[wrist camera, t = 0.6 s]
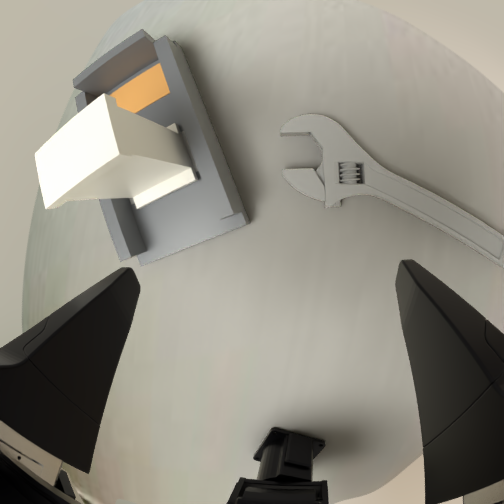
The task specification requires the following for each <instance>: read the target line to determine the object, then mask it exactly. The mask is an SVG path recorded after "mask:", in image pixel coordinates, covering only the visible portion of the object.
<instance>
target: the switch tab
mask: <svg viewBox="0 0 504 504" xmlns="http://www.w3.org/2000/svg"><path fill="white" fill-rule="evenodd" d="M35 159H36V165H37V171H38V176H39V181H40V186H41V191H42V195H43V200H44V204H45V208H46V209H51V208H58V207H60V206H61V205H62V204H63V203H65V202H66V201H75V200H92V199H112V198H133V199H134V202H135V205H136V208H137V209H141V208H143V207H145V206H146V205H148V204H150V203H152V202H154V201H156V200H158V199H160V198H162V197H164V196H166V195H168V194H170V193H172V192H174V191H177V190H179V189H181V188H183V187H185V186H187V185H189V184H191V183H193V182H196V181H198V178H197V176H196V173H195V170H194V168H193V165H192V162H191V159H190V157H189V154H188V151H187V148H186V146H185V143H184V140H183V137H182V135H181V132H180V129H179V126H178V124H176V123H173V124H172V125H170V126H168V127H164V126H161V125H159V124H157V123H155V122H153V121H150V120H148V119H146V118H144V117H142V116H139V115H137V114H135V113H132V112H130V111H128V110H125V109H123V108H121V107H118V106H117V103H116V99H115V98H114V97H112V96H109V95H107V94H105V93H103V94H102V95H101V96H99V97H98V98H97V99H96V100H94V101H93V102H92V103H90V104H89V105H88V106H87V107H85V108H84V109H83V110H82V111H81V112H79V113H78V114H77V115H76V116H75V117H73V118H72V119H71V120H70V121H69V122H68V123H66V124H65V125H64V126H63V127H62V128H61V129H60V130H59V131H58V132H57V133H55V134H54V135H53V136H52V137H51V138H50V139H49V140H48V141H47V142H46V143H45V144H44V145H43V146H42V147H41V148H40V149H39V150H38V151H37V152H36V153H35Z"/></svg>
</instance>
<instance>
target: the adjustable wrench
mask: <svg viewBox="0 0 504 504" xmlns="http://www.w3.org/2000/svg"><path fill="white" fill-rule="evenodd" d="M280 134H281V136H302V135H311V137H312V138H313V139H314V141H315V142H316V144H317V145H318V146H319V148H320V149H321V151H322V162H321V164H320V166H319V167H318V169H317V170H316V171H314V169H313V168H301V169H282V176H283V177H284V178H285V180H286V181H287V182H288V183H289V184H290V185H291V186H292V187H293V188H294V189H296V190H297V191H298V192H300V193H302V194H303V195H305V196H308V197H310V198H313V199H316V200H319V201H323V202H324V208H329V207H341V203H340V201H341V199H343V198H347V197H351V196H356V195H370V196H374V197H377V198H380V199H382V200H384V201H386V202H388V203H390V204H392V205H394V206H396V207H398V208H400V209H402V210H404V211H406V212H408V213H410V214H412V215H414V216H416V217H418V218H420V219H421V220H423V221H425V222H427V223H429V224H431V225H433V226H434V227H436V228H438V229H440V230H442V231H443V232H445V233H447V234H449V235H450V236H452V237H454V238H455V239H457V240H459V241H460V242H462V243H464V244H465V245H467V246H469V247H470V248H472V249H474V250H475V251H477V252H478V253H480V254H482V255H483V256H485V257H486V258H488V259H489V260H491V261H492V262H494V263H495V264H497V265H498V266H500V267H502V268H504V236H503V235H502V234H500V233H499V232H497V231H496V230H494V229H493V228H491V227H490V226H488V225H487V224H485V223H484V222H482V221H480V220H479V219H477V218H476V217H474V216H472V215H471V214H469V213H467V212H466V211H464V210H462V209H461V208H459V207H457V206H456V205H454V204H452V203H450V202H449V201H447V200H445V199H443V198H441V197H439V196H438V195H436V194H434V193H432V192H430V191H428V190H426V189H424V188H422V187H420V186H419V185H417V184H415V183H413V182H410V181H408V180H406V179H404V178H402V177H400V176H398V175H396V174H394V173H392V172H390V171H388V170H387V169H385V168H383V167H382V166H381V165H380V164H378V163H377V162H376V161H375V160H374V159H373V158H372V157H371V156H370V155H369V154H368V153H366V152H365V151H364V150H363V149H362V148H361V147H360V146H359V145H358V144H357V143H356V142H355V141H354V139H353V138H352V137H351V136H350V135H349V134H348V133H347V132H346V131H345V130H344V129H343V128H342V126H341V125H340V124H338V123H337V122H336V121H334V120H332V119H331V118H328V117H326V116H323V115H318V114H305V115H300V116H298V117H295V118H292V119H290V120H289V121H288V122H286V123H285V124H284V125H283V126H282V127H281V130H280ZM356 165H361V174H362V184H357V180H361V179H360V178H357V175H360V173H357V170H360V168H357V167H356ZM340 168H342V169H340ZM340 173H342V174H341V175H340ZM340 178H342V180H340Z"/></svg>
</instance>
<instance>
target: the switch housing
mask: <svg viewBox="0 0 504 504" xmlns="http://www.w3.org/2000/svg"><path fill="white" fill-rule="evenodd" d="M73 85H74V88H76V89H79V90H81V91H82V92H81V93H80V94H79V95H78V96H76V97H75V99H76V105H77V111H78V113H79V112H81V111H82V110H83V109H84V108H85V107H87V106H88V105H89V104H90V103H92V102H93V101H94V100H96V99H97V98H98V97H99V96H101V95H102V94H103V93H105V94H107V95H109V96H112V97H114V98H115V99H116V103H117V106H118V107H121V108H123V109H125V110H128V111H130V112H132V113H135V114H137V115H139V116H142V117H144V118H146V119H148V120H150V121H153V122H155V123H157V124H159V125H161V126H164V127H168V126H170V125H172V124H173V123H176V124H178V126H179V129H180V132H181V135H182V137H183V140H184V143H185V146H186V148H187V151H188V154H189V157H190V159H191V162H192V165H193V168H194V170H195V173H196V176H197V178H198V181H196V182H193V183H191V184H189V185H187V186H185V187H183V188H181V189H179V190H177V191H174V192H172V193H170V194H168V195H166V196H164V197H162V198H160V199H158V200H156V201H154V202H152V203H150V204H148V205H146V206H145V207H143V208H141V209H137V208H136V205H135V202H134V199H133V198H112V199H99V201H100V205H101V208H102V211H103V214H104V217H105V220H106V223H107V226H108V229H109V232H110V235H111V238H112V241H113V243H114V246H115V249H116V252H117V254H118V257H119V260H120V262H122V261H124V260H127V259H129V258H132V257H135V256H137V258H138V261H139V263H140V266H143V265H146V264H148V263H151V262H153V261H156V260H158V259H161V258H163V257H166V256H168V255H170V254H173V253H175V252H178V251H180V250H183V249H185V248H188V247H190V246H193V245H196V244H198V243H201V242H203V241H206V240H208V239H211V238H213V237H216V236H219V235H221V234H224V233H226V232H229V231H231V230H234V229H237V228H239V227H242V226H245V225H247V224H249V223H250V221H249V219H248V216H247V214H246V211H245V208H244V206H243V203H242V201H241V198H240V195H239V193H238V190H237V188H236V185H235V182H234V180H233V177H232V175H231V172H230V170H229V167H228V164H227V162H226V159H225V157H224V154H223V152H222V149H221V146H220V144H219V141H218V139H217V136H216V134H215V131H214V129H213V126H212V124H211V121H210V118H209V116H208V113H207V111H206V108H205V106H204V103H203V101H202V98H201V96H200V93H199V91H198V88H197V86H196V83H195V81H194V78H193V76H192V73H191V71H190V68H189V66H188V63H187V61H186V58H185V56H184V53H183V51H182V48H181V47H180V46H179V44H178V43H177V42H176V41H173V42H172V41H171V40H170V39H169V38H168V37H167V36H166V35H165V36H163V37H161V38H160V39H158V40H156V41H155V40H154V39H153V38H152V37H151V36H150V35H149V34H148V33H146V32H145V31H144V30H143V29H142V30H140V31H138V32H137V33H135V34H133V35H132V36H130V37H129V38H127V39H126V40H124V41H123V42H121V43H120V44H118V45H117V46H115V47H114V48H113V49H111V50H110V51H108V52H107V53H106V54H104V55H103V56H102V57H100V58H99V59H98V60H96V61H95V62H94V63H92V64H91V65H90V66H89V67H87V68H86V69H85V70H84V71H83V72H81V73H80V74H79V75H78V76H77V77H76V78H74V79H73Z"/></svg>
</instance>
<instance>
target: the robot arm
mask: <svg viewBox="0 0 504 504" xmlns="http://www.w3.org/2000/svg"><path fill="white" fill-rule="evenodd" d="M395 285H396V292H397V298H398V304H399V311H400V317H401V324H402V330H403V334H404V338H405V342H406V347H407V351H408V356H409V360H410V365H411V370H412V375H413V380H414V385H415V391H416V397H417V403H418V410H419V417H420V424H421V433H422V442H423V447H424V448H423V455H424V469H425V470H424V471H425V504H438V503H442V502H445V501H449V500H452V499H455V498H458V497H461V496H463V504H504V334H503V333H502V332H501V331H500V330H498V329H497V328H496V327H495V326H494V325H493V324H492V323H491V322H489V321H488V320H486V318H485V317H484V316H483V315H481V314H480V313H479V312H478V311H477V310H476V309H475V308H473V307H472V306H471V305H470V304H469V303H467V302H466V301H465V300H464V299H463V298H461V297H460V296H459V295H458V294H457V293H455V292H454V291H453V290H452V289H450V288H449V287H448V286H447V285H445V284H444V283H443V282H442V281H440V280H439V279H438V278H437V277H435V276H434V275H433V274H431V273H430V272H429V271H427V270H426V269H425V268H423V267H422V266H421V265H419V264H418V263H417V262H415V261H414V260H402V261H400V264H399V268H398V273H397V277H396V283H395ZM139 294H140V284H139V282H138V279H137V277H136V275H135V273H134V271H133V269H132V268H130V267H122V268H120V269H118V270H117V271H115V272H113V273H112V274H110V275H109V276H107V277H106V278H104V279H103V280H101V281H99V282H98V283H96V284H95V285H93V286H92V287H90V288H89V289H87V290H86V291H84V292H83V293H81V294H80V295H78V296H77V297H75V298H74V299H72V300H71V301H69V302H68V303H66V304H65V305H64V306H62V307H61V308H59V309H58V310H56V311H55V312H53V313H52V314H51V315H50V316H48V317H46V318H45V319H43V320H42V321H41V322H39V323H38V324H36V325H35V326H33V327H32V328H30V329H29V330H27V331H26V332H24V333H23V334H21V335H20V336H18V337H17V338H16V339H14V340H12V341H11V342H9V343H8V344H6V345H5V346H3V347H1V348H0V504H81V503H79V502H78V501H76V500H75V498H76V497H75V494H74V492H73V489H72V487H71V484H70V481H69V479H68V476H67V473H66V472H65V471H63V470H62V469H61V468H62V465H63V462H65V463H67V464H69V465H71V466H73V467H75V468H77V469H79V470H81V471H83V472H85V473H87V474H89V472H90V468H91V463H92V458H93V454H94V449H95V445H96V441H97V436H98V432H99V428H100V424H101V420H102V416H103V413H104V409H105V405H106V402H107V398H108V395H109V391H110V388H111V385H112V382H113V378H114V375H115V372H116V369H117V366H118V363H119V360H120V356H121V354H122V351H123V348H124V345H125V342H126V339H127V336H128V333H129V330H130V327H131V324H132V320H133V316H134V313H135V309H136V305H137V301H138V298H139ZM275 432H276V433H275ZM324 447H325V441H323V440H319V439H315V438H311V437H306V436H302V435H299V434H295V433H291V432H287V431H284V430H280V429H277V428H273V429H271V430H270V432H269V433H268V435H267V436H266V438H265V439H264V441H263V442H262V444H261V445H260V447H259V448H258V450H257V451H256V453H255V454H254V457H253V459H254V460H256V461H260V462H261V463H260V468H259V472H258V477H257V480H254V479H246V478H242V477H240V479H239V481H238V483H236V485H235V488H234V490H233V492H232V494H231V496H230V498H229V500H228V502H227V503H226V504H329V502H328V486H327V480H322V481H313V482H312V475H313V459H314V458H315V457H316V456H317V455H318V454H319V453H320V451H321V450H322V449H323V448H324Z"/></svg>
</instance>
